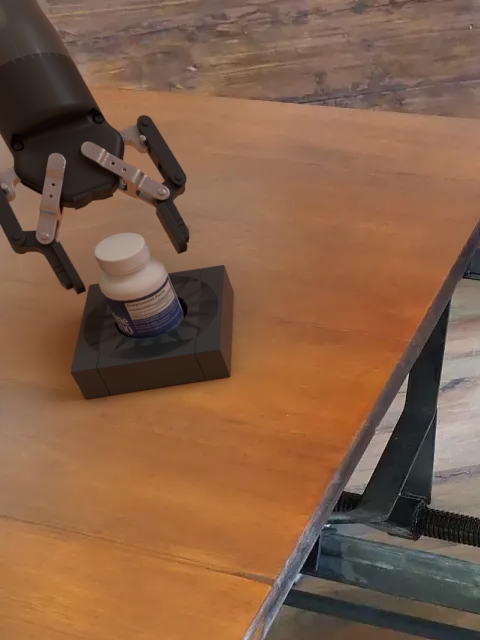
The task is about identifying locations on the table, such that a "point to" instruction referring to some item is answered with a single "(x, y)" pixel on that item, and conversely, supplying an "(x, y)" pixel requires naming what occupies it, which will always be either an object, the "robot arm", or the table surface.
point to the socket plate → (158, 340)
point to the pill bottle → (136, 287)
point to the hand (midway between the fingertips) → (133, 270)
